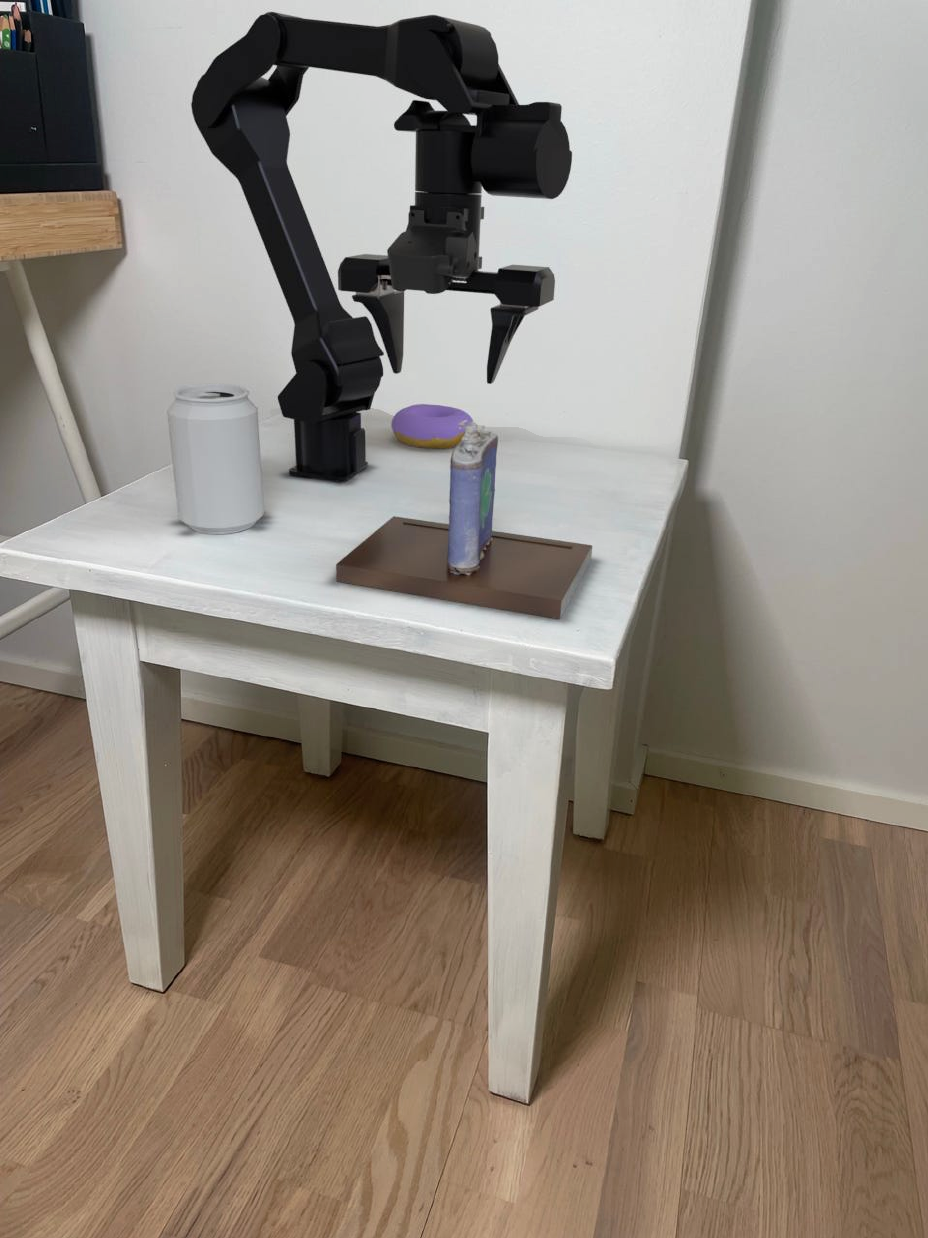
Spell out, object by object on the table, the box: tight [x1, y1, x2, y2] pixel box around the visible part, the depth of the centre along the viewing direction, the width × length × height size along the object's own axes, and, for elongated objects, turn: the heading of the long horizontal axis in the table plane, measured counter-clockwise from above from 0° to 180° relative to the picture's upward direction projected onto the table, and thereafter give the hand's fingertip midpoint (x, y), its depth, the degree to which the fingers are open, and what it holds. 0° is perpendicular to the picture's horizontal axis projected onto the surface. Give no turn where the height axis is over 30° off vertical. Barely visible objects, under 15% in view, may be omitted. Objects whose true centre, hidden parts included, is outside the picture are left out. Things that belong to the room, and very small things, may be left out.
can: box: [166, 383, 265, 535], centre depth 81 cm, size 8×8×12 cm
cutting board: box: [335, 515, 593, 620], centre depth 75 cm, size 18×12×2 cm, turn 72°
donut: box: [391, 403, 474, 450], centre depth 109 cm, size 10×9×5 cm
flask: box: [447, 420, 499, 575], centre depth 72 cm, size 9×3×11 cm, turn 168°
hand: (443, 377), depth 86 cm, fingers open, 9 cm apart
